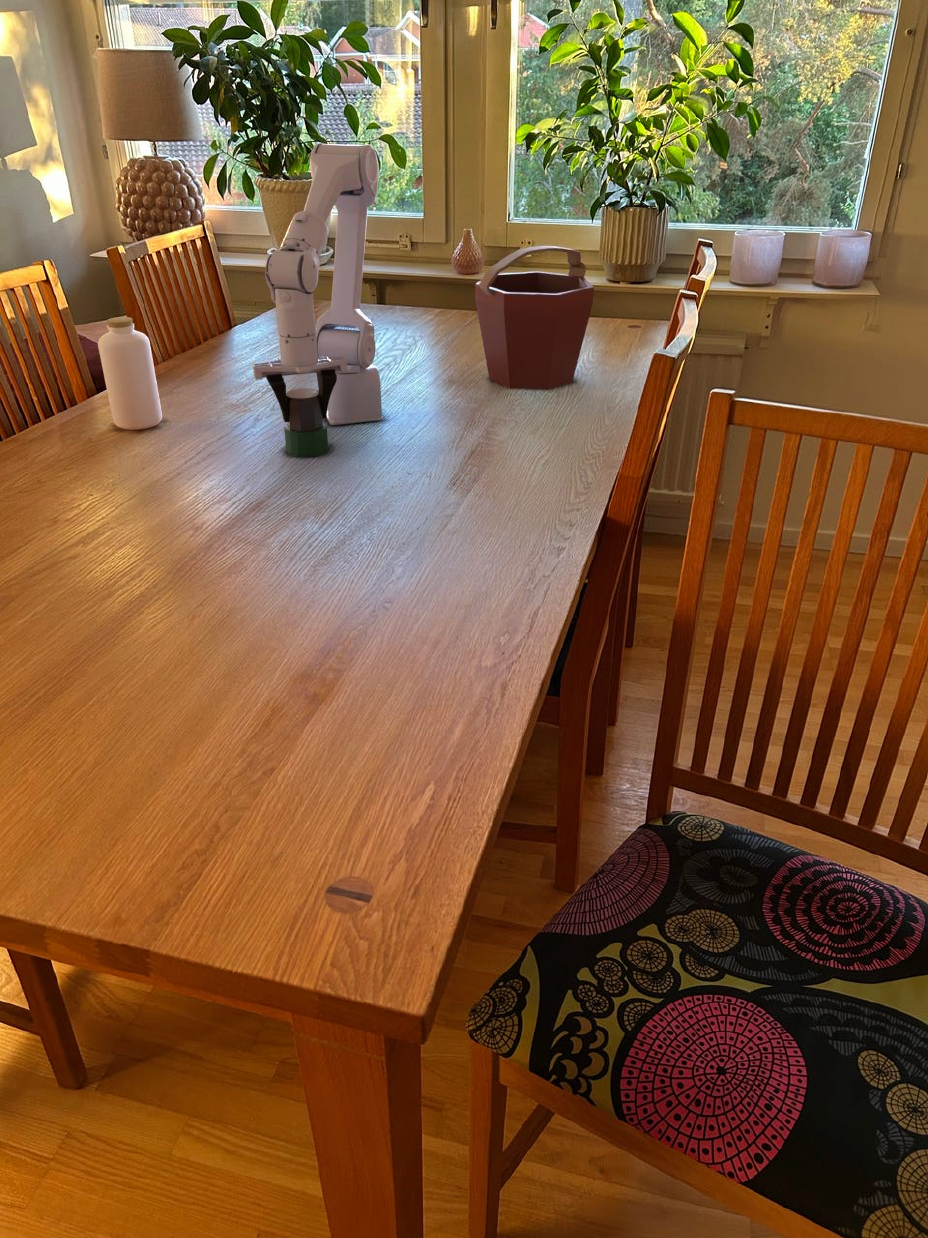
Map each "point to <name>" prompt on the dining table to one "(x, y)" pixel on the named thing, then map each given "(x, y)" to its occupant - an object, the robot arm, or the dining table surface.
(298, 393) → the faceted brown jar
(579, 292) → the bucket
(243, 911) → the dining table surface
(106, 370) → the potion bottle
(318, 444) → the bottle
